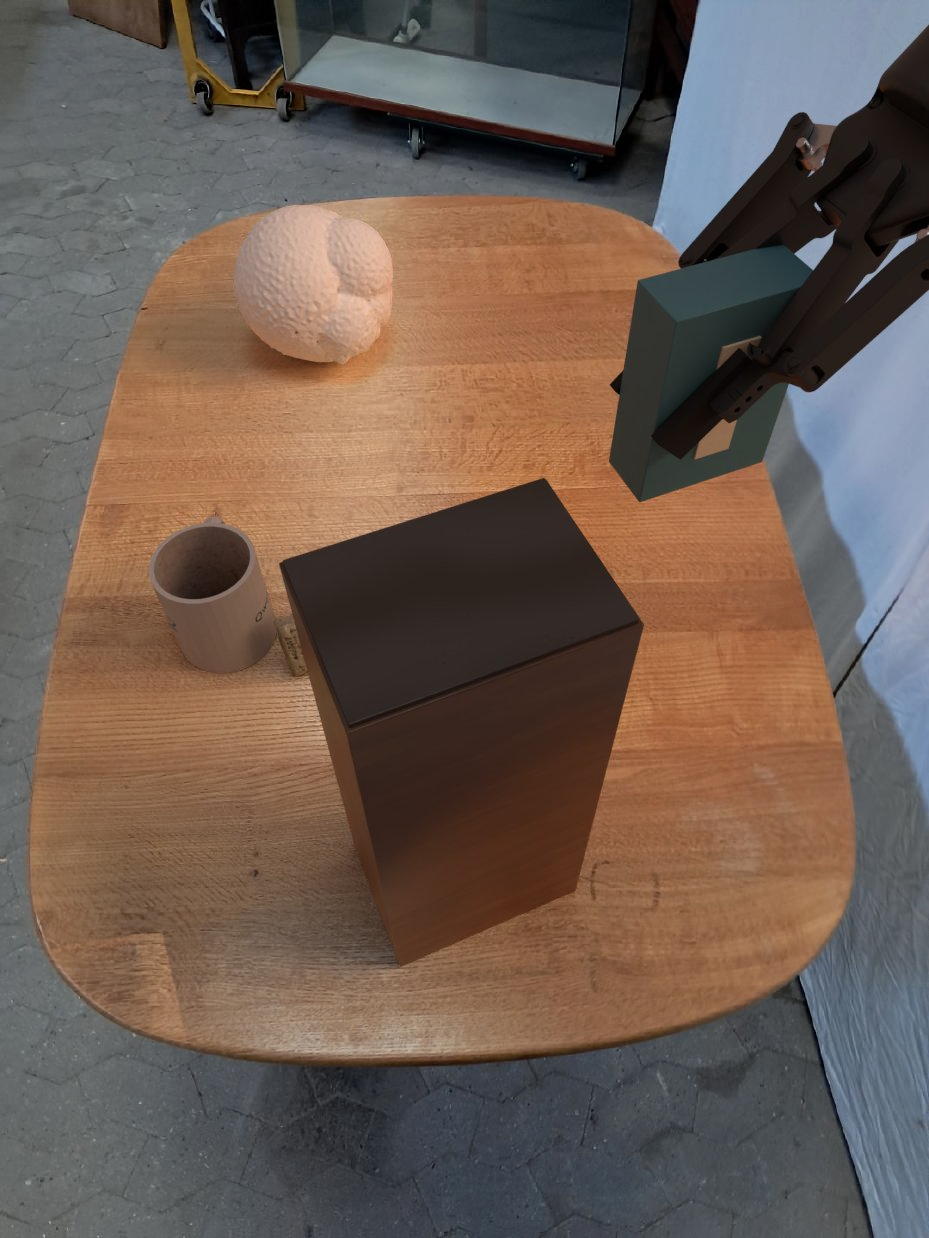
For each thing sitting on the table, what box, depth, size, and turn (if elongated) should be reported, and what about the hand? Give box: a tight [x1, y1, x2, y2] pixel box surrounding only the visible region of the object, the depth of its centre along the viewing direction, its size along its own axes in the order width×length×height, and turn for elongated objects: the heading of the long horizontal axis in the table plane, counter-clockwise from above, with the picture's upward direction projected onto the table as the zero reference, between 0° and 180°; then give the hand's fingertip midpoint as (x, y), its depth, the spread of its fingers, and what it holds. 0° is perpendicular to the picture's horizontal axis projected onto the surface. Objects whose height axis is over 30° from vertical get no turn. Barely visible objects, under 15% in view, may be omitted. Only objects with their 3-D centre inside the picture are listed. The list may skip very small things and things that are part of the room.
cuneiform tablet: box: [274, 613, 308, 677], centre depth 78 cm, size 7×4×12 cm
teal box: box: [608, 245, 814, 503], centre depth 53 cm, size 4×9×13 cm, turn 113°
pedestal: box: [278, 477, 645, 967], centre depth 55 cm, size 10×14×34 cm
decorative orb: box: [232, 204, 394, 365], centre depth 100 cm, size 20×18×16 cm
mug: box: [148, 515, 277, 674], centre depth 79 cm, size 12×9×10 cm
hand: (645, 421), depth 53 cm, fingers closed on teal box, 4 cm apart
